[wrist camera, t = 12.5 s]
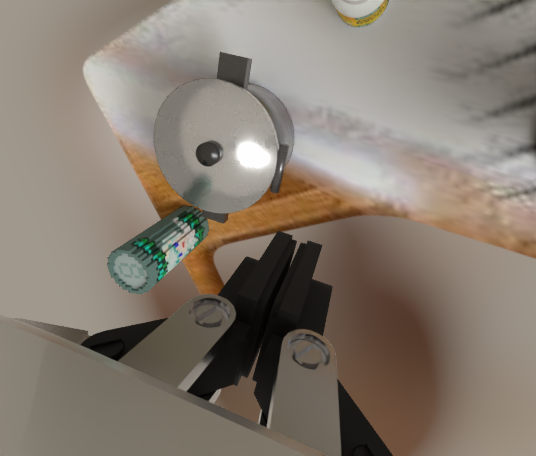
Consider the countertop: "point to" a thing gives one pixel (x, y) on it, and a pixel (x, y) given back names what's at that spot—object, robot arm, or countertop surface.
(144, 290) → the can
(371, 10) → the supplement bottle
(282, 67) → the countertop surface
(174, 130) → the lid
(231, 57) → the pot
